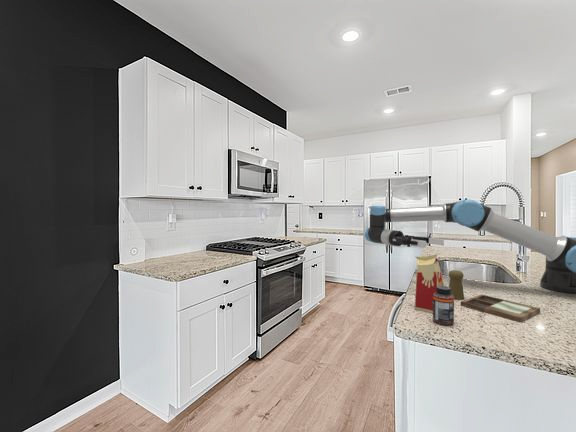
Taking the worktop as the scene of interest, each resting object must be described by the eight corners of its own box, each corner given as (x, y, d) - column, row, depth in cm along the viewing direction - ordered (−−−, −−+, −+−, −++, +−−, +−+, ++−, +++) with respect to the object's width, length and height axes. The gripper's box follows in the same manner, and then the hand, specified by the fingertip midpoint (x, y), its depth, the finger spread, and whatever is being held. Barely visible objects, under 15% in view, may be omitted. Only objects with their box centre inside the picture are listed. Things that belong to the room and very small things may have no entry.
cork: (462, 296, 118) (462, 269, 118) (466, 300, 113) (466, 272, 112) (445, 294, 120) (446, 268, 120) (448, 299, 115) (449, 271, 114)
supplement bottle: (435, 317, 96) (435, 283, 96) (455, 321, 92) (456, 286, 92) (430, 322, 92) (431, 287, 91) (451, 327, 88) (452, 290, 87)
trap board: (481, 298, 116) (481, 294, 116) (540, 312, 100) (540, 307, 100) (460, 305, 107) (460, 301, 107) (521, 322, 91) (521, 317, 91)
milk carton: (445, 307, 105) (446, 253, 104) (438, 314, 98) (438, 256, 98) (419, 302, 111) (420, 250, 111) (410, 308, 104) (411, 253, 104)
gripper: (408, 243, 148) (449, 250, 130) (375, 247, 135) (417, 254, 117) (408, 229, 148) (450, 233, 130) (376, 231, 134) (417, 235, 116)
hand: (434, 243), depth 123 cm, fingers open, 13 cm apart
